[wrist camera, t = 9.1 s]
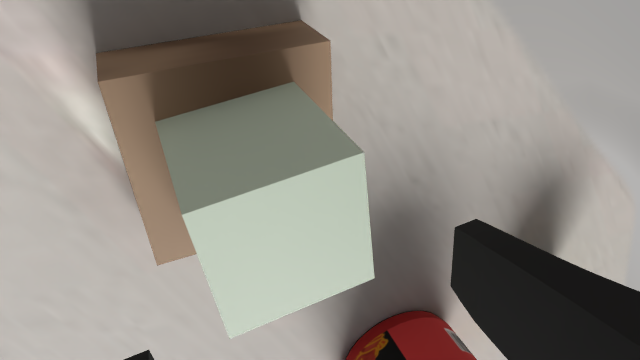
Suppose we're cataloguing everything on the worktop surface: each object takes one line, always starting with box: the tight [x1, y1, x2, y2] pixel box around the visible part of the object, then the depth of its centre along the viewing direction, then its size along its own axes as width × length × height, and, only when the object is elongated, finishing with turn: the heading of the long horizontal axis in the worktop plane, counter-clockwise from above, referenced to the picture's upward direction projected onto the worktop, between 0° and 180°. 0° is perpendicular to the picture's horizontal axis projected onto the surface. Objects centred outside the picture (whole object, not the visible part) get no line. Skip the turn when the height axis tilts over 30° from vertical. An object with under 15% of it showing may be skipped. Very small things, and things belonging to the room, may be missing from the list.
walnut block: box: [96, 20, 333, 265], centre depth 17 cm, size 7×7×3 cm
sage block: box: [155, 82, 374, 339], centre depth 14 cm, size 4×4×5 cm
